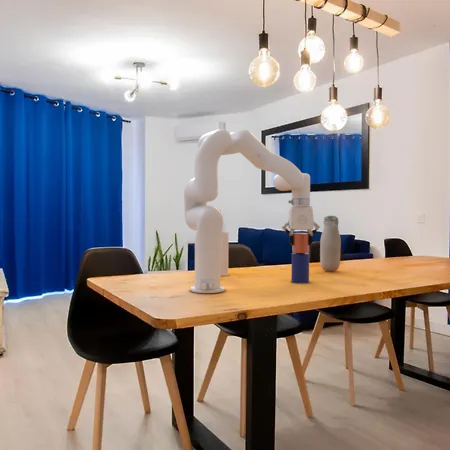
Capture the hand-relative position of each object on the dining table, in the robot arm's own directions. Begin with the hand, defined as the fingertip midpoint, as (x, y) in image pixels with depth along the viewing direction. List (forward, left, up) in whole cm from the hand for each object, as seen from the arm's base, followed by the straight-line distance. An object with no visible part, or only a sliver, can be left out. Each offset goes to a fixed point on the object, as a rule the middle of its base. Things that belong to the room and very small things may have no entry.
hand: (300, 244), depth 185 cm
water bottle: (0, 0, -16) cm, 16 cm away
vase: (+24, +34, -16) cm, 45 cm away
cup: (0, 0, -3) cm, 3 cm away
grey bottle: (+34, -22, -16) cm, 43 cm away
